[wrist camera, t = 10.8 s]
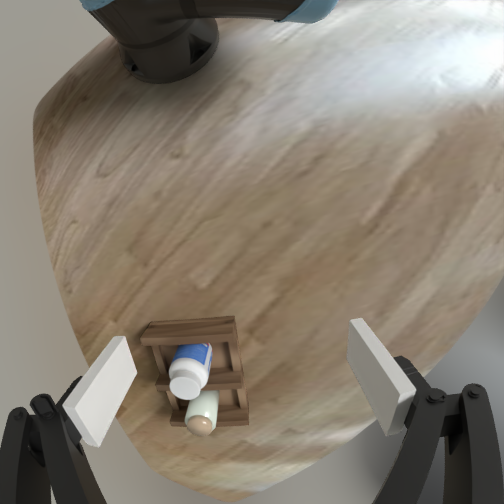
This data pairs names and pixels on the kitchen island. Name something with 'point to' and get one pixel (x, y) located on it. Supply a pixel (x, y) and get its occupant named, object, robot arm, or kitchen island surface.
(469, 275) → the kitchen island surface
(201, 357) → the pill bottle
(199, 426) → the jar
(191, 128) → the kitchen island surface
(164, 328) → the rack
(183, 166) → the kitchen island surface
